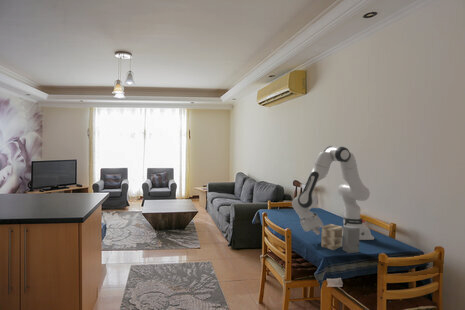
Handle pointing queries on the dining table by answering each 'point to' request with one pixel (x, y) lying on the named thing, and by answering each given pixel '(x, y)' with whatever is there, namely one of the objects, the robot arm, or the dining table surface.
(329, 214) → the dining table surface
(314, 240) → the dining table surface
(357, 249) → the skincare box
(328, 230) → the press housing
